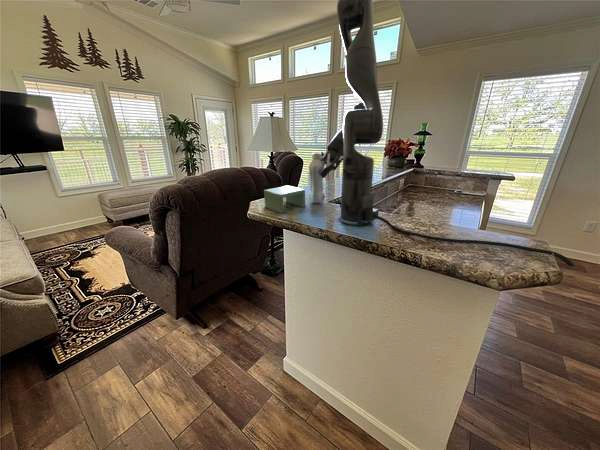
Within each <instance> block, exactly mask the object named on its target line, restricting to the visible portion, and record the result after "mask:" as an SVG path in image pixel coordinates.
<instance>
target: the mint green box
mask: <svg viewBox="0 0 600 450" xmlns="http://www.w3.org/2000/svg"><path fill="white" fill-rule="evenodd" d="M263 196H264V198H263V199H264V207H265V208H266V209H269V210H272V211H274V212H276V213H279V214H284V212H285V210H284V198H285V199H286V200H285V202H286V203H289V204H292V205H294V206H298V207H301V208H305V207H306V189H305V188H302V187H301V188H300V187H297V186H293V185H288V184H287V185H283V186H277V187H273V188H268V189H263Z"/></svg>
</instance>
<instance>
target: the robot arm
mask: <svg viewBox="0 0 600 450" xmlns="http://www.w3.org/2000/svg"><path fill="white" fill-rule="evenodd" d="M336 14H337V21H338V27H339V31H340V32H339V33H340V35H341V40H342V45H343V47H344V48H343V49H344V52H345V58H344V67H345V71H344V72H345V78H346V83H347V84H348V86H349V87H350V88H351V90H352V91H353V95H354V97H355V98H357V99H359V100H360V101H361V102H358V103H357V104H355V106H353V108H352V109H351V110H350V109H349V110H347V111H346V112H345V114H344V116H343V123H342V128H341V129H340V130H339V131H337V133H336V134H335V135H334V137H333V138H332V139H331V140H330V142H329V143H328V144H327V145H326V149H327V151H326V152H323V151H321V152H320V153H321V157H322V158H321V160H322V162H323V164H324V166H325V169H324V170H323V171H322V173H321V174H320V175H321V177H322V178H323V179H325V178H326V177H327V176H328V175H329V173H330V172H332V171H336V170H337V168H338V167H339V166H340V165H341V163H342V168H341V169H342V170H341V171H342V173H341V174H342V175H341V194H340V195H341V196H340V197H341V198H340V204H339V208H340V215H339V219H340V222H341V223H343V224H346V225H349V226H359V227H362V226H365V225H367V224H368V223H371V222H373V221H375V220H379V221H381V222H383V223H385V224H386V225H387V226H388V227H389V228H391V229H392V230H395V231H397V232H399V233H402V234H405V235H409V236H414V237H418V238H422V239H427V240H432V241H438V242H439V241H440V242H445V243H455V244H456V243H457V244H475V245H485V246H486V245H487V246H497V247H505V248H510V249H517V250H521V251H526V252H531V253H539V254H545V255H549V256H553V254H554V256H553V257H555V258H558V259H560V260H561V261H562V262H563V263H565V264H566V265H567V266H569V267H576V265H575V264H574V263H573V262H572V261H571V260H570V259H569V258H567V256H565V255H563V254H561V253H558V252H556V251H553V250H549V249H544V248H535V247H529V246H525V245H520V244H513V243H507V242H499V241H489V240H478V239H457V238H447V237H439V236H434V235H427V234H423V233H418V232H414V231H411V230H410V231H409V230H405V229H402V228H399V227H397V226H395V225H394V224H392V223H390V222H389V220H388V219H386V218H384V217H382V216H379V213H380V209H377V208H374V199H375V194H374V192H372V190H373V189H372V188H373V177H374V168H375V167H374V165H375V159H374V158H373V157H371V156H368V155H365V154H362V153H361V152H359V151H358V150H357V149H356V145H374V144H377V143H379V142H380V141H381V139H382V137H383V132H384V116H383V111H382V105H381V99H380V94H379V84H378V63H377V54H376V53H377V52H376V43H375V36H374V35H375V34H374V1H373V0H337V3H336ZM356 30H358V31H357V33H356V34H355V37H354V38H352V32H353V31H356ZM552 253H553V254H552Z"/></svg>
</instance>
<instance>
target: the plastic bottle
mask: <svg viewBox="0 0 600 450" xmlns="http://www.w3.org/2000/svg"><path fill="white" fill-rule="evenodd" d="M321 158H322V157H321V152H312V153H311V161H310V163H309V165H308V172H309V173H308V174H309V181H310V182H309V183H310V186H309V194H308V199H309V201H310V202H311V204H312V203H313V204H321V203H323V202H324V201H325V197H326V195H325V190H324V189H325V188H324V178H322V177H321V175H320V174H321V173H322V171H323V170H324V169H325V167H326V165H324V164H323V161H322V160H321Z"/></svg>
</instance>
